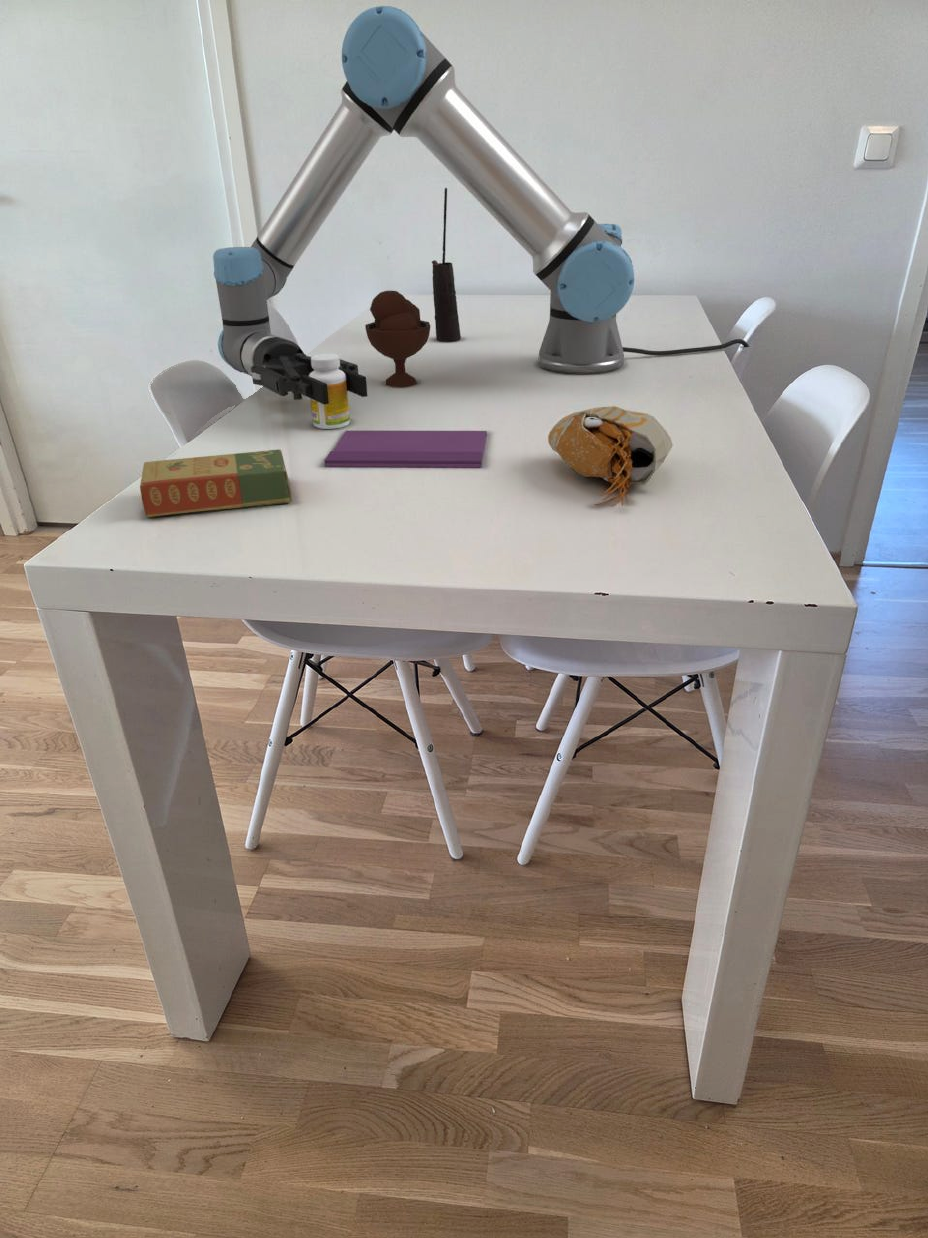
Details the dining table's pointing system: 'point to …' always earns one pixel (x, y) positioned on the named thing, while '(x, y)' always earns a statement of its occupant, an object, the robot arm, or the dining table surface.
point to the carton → (214, 483)
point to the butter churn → (445, 295)
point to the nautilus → (612, 446)
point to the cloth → (408, 449)
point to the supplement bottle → (330, 393)
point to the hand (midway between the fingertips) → (345, 390)
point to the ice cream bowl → (397, 333)
